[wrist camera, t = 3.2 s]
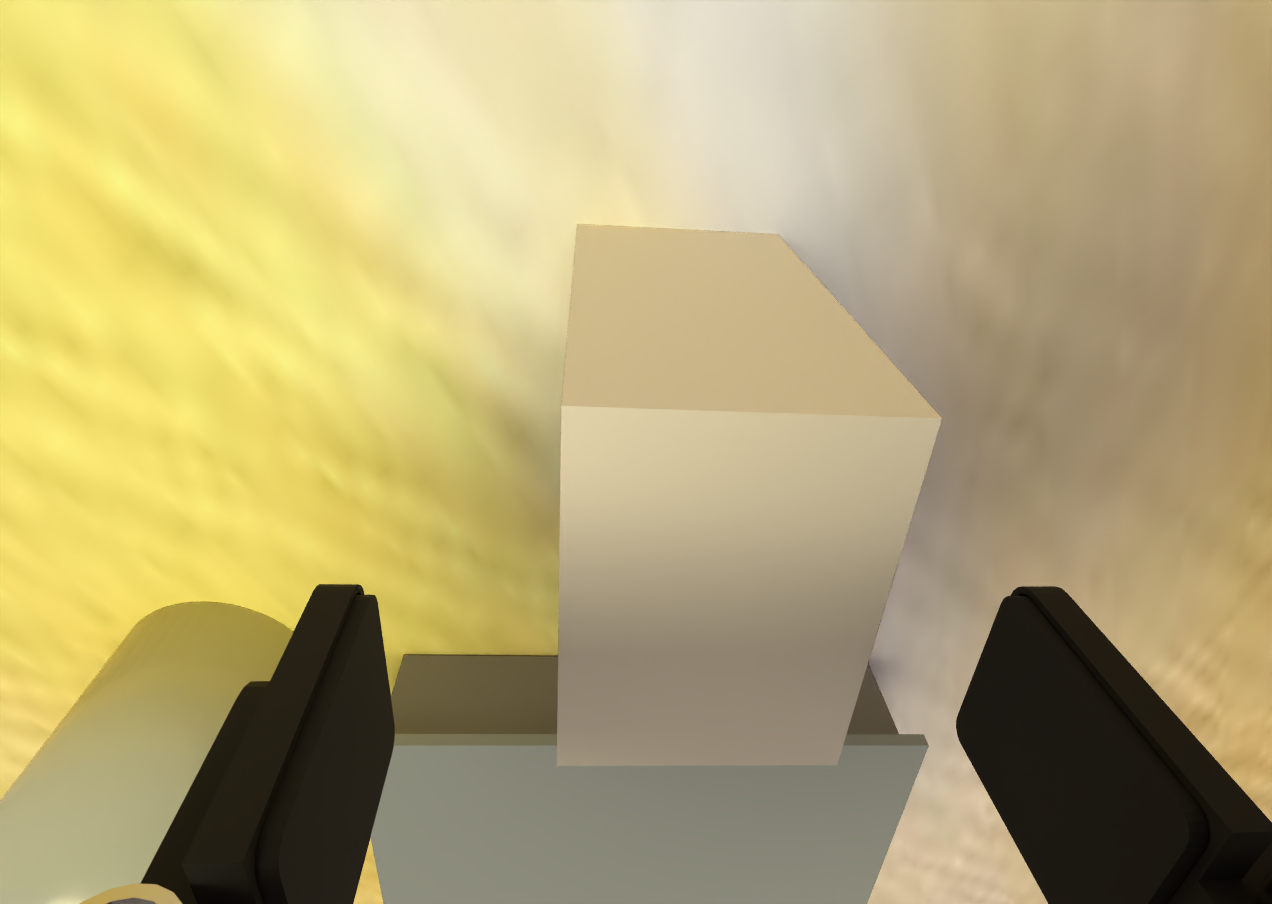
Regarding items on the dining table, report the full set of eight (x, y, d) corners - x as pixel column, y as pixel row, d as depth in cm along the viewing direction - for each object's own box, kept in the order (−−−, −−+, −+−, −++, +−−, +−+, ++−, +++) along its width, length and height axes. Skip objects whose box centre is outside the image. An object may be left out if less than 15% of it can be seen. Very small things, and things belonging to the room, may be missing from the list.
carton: (777, 234, 18) (942, 418, 10) (740, 472, 22) (836, 765, 13) (577, 223, 18) (561, 405, 9) (571, 468, 21) (556, 765, 13)
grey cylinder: (308, 603, 23) (166, 888, 16) (336, 737, 27) (230, 1030, 19) (97, 600, 23) (-157, 893, 15) (151, 737, 26) (-35, 1038, 18)
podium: (883, 648, 26) (928, 745, 22) (799, 916, 34) (822, 1016, 31) (386, 644, 24) (352, 745, 21) (427, 923, 33) (407, 1028, 29)
